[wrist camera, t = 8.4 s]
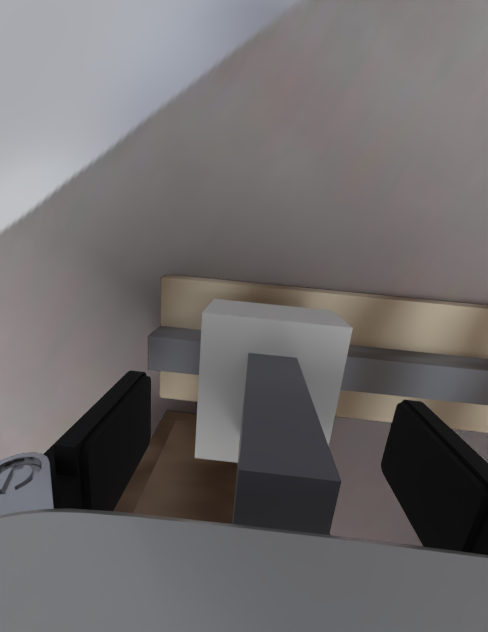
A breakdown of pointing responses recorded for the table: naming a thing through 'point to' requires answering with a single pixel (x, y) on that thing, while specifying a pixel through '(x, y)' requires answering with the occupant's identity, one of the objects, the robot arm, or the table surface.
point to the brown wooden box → (180, 477)
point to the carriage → (273, 409)
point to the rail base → (365, 330)
